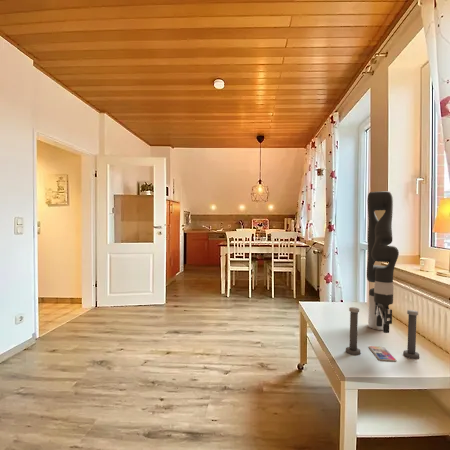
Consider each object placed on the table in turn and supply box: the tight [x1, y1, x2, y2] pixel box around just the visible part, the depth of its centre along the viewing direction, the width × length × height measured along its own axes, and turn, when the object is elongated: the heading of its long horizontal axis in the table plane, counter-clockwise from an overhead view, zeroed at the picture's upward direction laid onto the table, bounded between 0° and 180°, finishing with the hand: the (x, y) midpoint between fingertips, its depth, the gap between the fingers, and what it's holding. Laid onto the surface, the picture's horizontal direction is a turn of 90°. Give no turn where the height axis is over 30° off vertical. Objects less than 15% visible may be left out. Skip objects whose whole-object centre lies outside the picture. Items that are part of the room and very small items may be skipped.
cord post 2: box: [402, 309, 420, 360], centre depth 145 cm, size 6×6×19 cm
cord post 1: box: [345, 306, 361, 356], centre depth 147 cm, size 6×6×19 cm
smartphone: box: [368, 345, 398, 363], centre depth 146 cm, size 7×1×15 cm
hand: (382, 329), depth 146 cm, fingers open, 8 cm apart
